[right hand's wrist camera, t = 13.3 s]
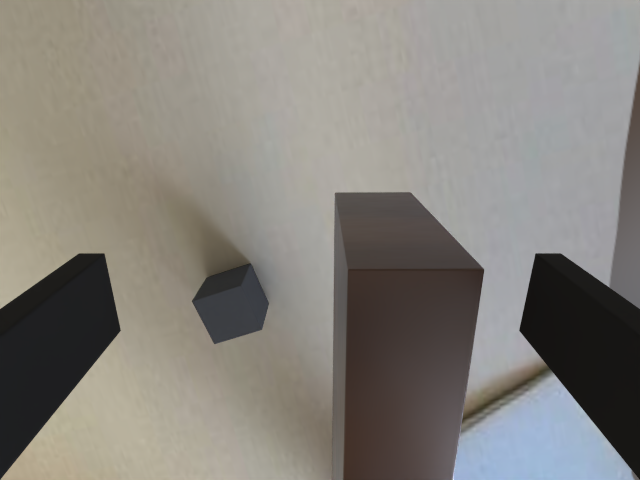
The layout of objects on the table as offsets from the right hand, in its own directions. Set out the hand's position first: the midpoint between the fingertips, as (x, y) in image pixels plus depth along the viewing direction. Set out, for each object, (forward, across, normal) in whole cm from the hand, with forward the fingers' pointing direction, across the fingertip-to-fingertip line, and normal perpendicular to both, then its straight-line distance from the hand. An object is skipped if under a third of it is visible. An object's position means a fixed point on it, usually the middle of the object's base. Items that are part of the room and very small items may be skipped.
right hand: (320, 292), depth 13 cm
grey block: (+26, -9, -14) cm, 31 cm away
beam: (+9, +3, -11) cm, 15 cm away
